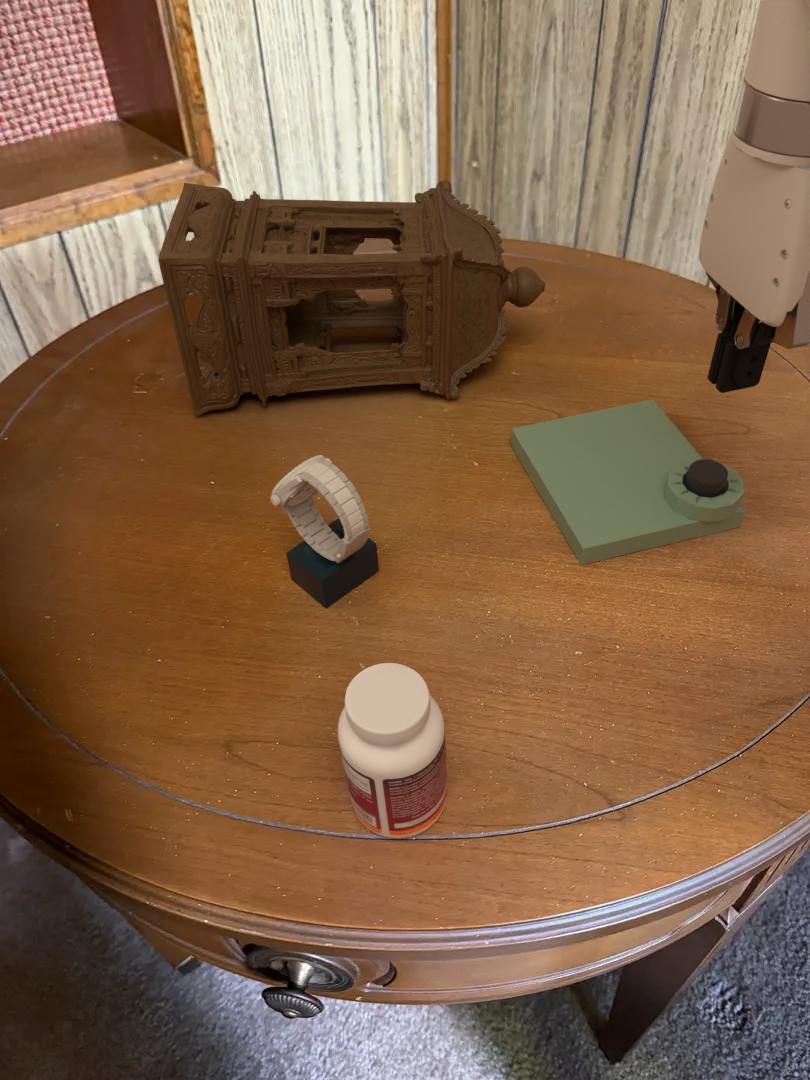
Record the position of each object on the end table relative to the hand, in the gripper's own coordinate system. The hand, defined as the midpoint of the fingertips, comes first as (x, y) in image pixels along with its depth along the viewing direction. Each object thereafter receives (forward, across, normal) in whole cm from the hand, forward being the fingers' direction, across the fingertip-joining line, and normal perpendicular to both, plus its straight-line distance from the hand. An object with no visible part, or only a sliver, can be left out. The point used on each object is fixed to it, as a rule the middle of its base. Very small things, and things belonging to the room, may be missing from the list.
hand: (732, 382), depth 62 cm
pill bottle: (+13, -18, +30) cm, 38 cm away
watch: (+13, +2, +30) cm, 33 cm away
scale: (+13, +6, +4) cm, 15 cm away
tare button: (+10, 0, 0) cm, 10 cm away
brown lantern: (+13, +30, +20) cm, 39 cm away
